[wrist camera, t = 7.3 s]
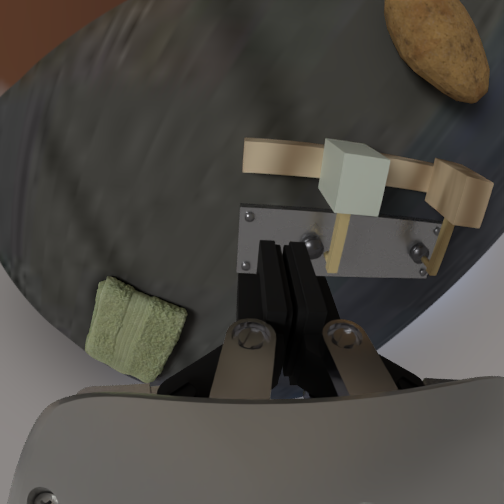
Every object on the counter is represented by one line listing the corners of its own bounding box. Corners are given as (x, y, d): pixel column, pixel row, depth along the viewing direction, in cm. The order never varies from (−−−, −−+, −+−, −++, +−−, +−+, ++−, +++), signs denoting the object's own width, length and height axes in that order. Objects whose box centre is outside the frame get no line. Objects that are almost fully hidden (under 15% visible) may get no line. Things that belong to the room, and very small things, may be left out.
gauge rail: (457, 160, 30) (499, 184, 24) (431, 251, 37) (461, 288, 30) (245, 127, 29) (246, 143, 22) (238, 241, 35) (237, 284, 28)
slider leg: (364, 143, 28) (390, 160, 23) (341, 255, 34) (357, 288, 29) (325, 138, 28) (344, 152, 22) (306, 253, 34) (318, 287, 29)
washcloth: (85, 346, 45) (79, 360, 42) (104, 266, 37) (95, 281, 34) (158, 376, 48) (155, 391, 46) (197, 306, 41) (194, 323, 38)
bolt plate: (441, 221, 35) (449, 228, 33) (422, 274, 39) (429, 282, 37) (240, 203, 33) (240, 211, 31) (236, 267, 37) (236, 277, 35)
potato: (420, 115, 28) (463, 130, 21) (345, 4, 22) (376, -15, 15) (474, 77, 25) (520, 85, 18) (409, -28, 19) (449, -46, 12)
